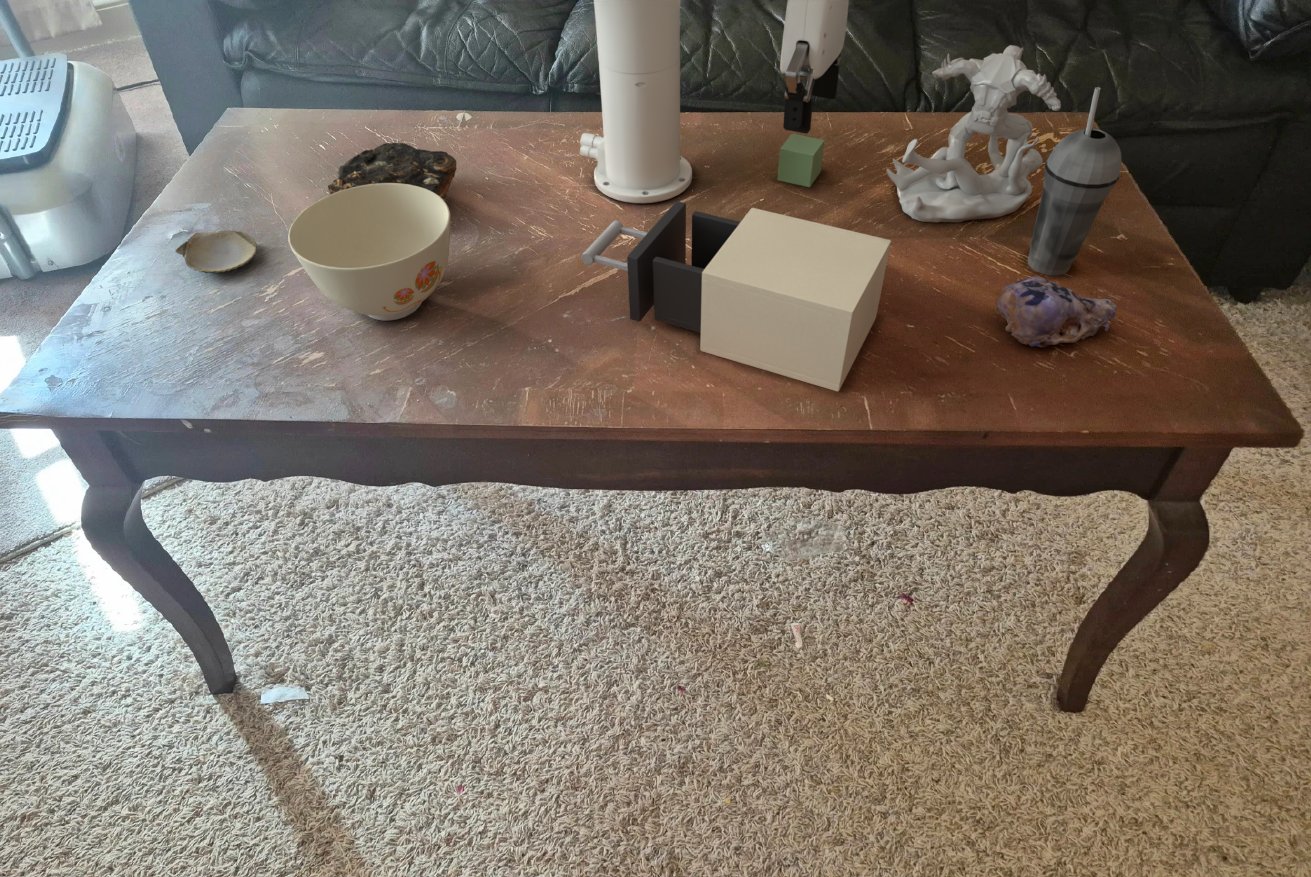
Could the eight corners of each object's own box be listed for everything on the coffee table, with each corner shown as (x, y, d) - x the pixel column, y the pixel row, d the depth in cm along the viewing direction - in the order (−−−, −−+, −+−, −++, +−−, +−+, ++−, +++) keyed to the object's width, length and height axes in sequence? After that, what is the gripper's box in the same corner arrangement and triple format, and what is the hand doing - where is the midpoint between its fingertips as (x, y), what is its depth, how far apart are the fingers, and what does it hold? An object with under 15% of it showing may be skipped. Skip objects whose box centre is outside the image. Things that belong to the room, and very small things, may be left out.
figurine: (1014, 169, 113) (1058, 25, 100) (1050, 223, 104) (1103, 72, 91) (877, 175, 113) (903, 31, 100) (901, 229, 104) (933, 79, 91)
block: (777, 180, 113) (779, 148, 109) (788, 164, 115) (792, 133, 112) (809, 187, 111) (813, 155, 108) (820, 171, 114) (825, 139, 111)
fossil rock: (375, 172, 116) (363, 130, 111) (472, 183, 113) (464, 141, 109) (323, 229, 106) (309, 186, 102) (428, 243, 104) (418, 199, 100)
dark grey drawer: (574, 303, 94) (567, 240, 88) (623, 248, 101) (620, 187, 95) (750, 354, 87) (755, 290, 82) (789, 292, 94) (796, 229, 89)
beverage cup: (1087, 286, 96) (1158, 108, 81) (1017, 279, 97) (1075, 102, 82) (1078, 248, 101) (1144, 75, 86) (1012, 242, 102) (1066, 70, 87)
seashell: (232, 298, 100) (274, 248, 103) (222, 281, 97) (265, 231, 101) (172, 272, 101) (216, 224, 105) (160, 255, 98) (205, 207, 102)
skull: (1102, 303, 92) (1122, 259, 88) (1119, 358, 88) (1142, 315, 83) (984, 304, 94) (997, 260, 89) (995, 358, 89) (1010, 315, 84)
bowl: (336, 368, 88) (306, 287, 81) (303, 286, 98) (274, 206, 91) (487, 321, 93) (471, 240, 86) (440, 247, 103) (423, 169, 96)
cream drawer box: (700, 351, 89) (701, 272, 82) (746, 284, 97) (751, 207, 90) (838, 392, 84) (852, 312, 78) (875, 318, 92) (891, 240, 85)
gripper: (816, -67, 102) (804, 79, 114) (762, -17, 91) (755, 139, 103) (880, -61, 99) (861, 89, 111) (831, -8, 88) (816, 150, 101)
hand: (810, 113), depth 107 cm, fingers open, 9 cm apart
